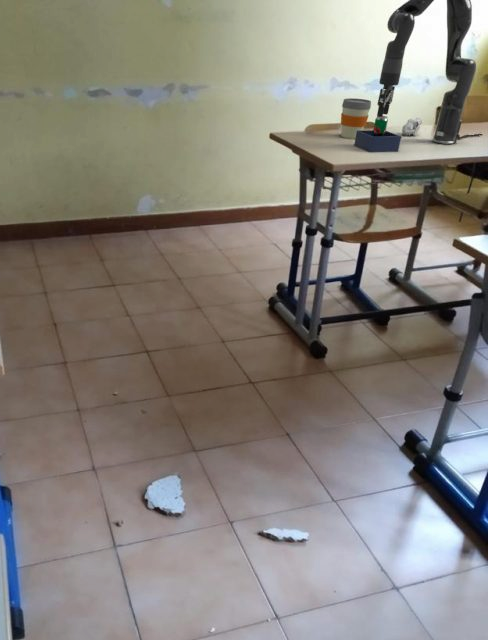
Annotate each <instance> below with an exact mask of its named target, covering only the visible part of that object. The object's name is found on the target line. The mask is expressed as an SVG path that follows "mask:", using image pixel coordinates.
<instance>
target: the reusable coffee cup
mask: <svg viewBox="0 0 488 640" xmlns="http://www.w3.org/2000/svg"><path fill="white" fill-rule="evenodd" d="M341 107H342V112H341V114H340V125H341V130H340V136H341V138H345V139H351V140H355V139H356V133H357V131H363V130H364V129H365V127H366V126H367V123H368V118H369V113H370V109H371V107H372V101H371V100H369V99H363V98H344V99H343V100H342V105H341Z"/></svg>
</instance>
